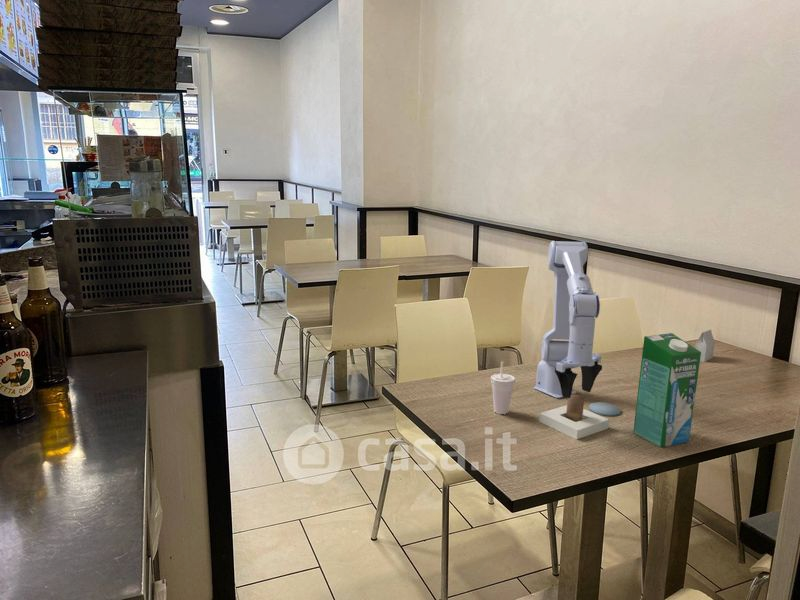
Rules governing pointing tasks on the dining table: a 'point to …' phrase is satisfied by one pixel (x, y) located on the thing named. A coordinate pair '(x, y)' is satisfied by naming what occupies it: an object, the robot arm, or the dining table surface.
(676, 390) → the milk carton
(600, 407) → the coaster
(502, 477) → the dining table surface
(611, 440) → the dining table surface
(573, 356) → the robot arm
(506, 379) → the smoothie
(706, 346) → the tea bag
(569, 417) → the walnut dowel
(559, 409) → the holder block
